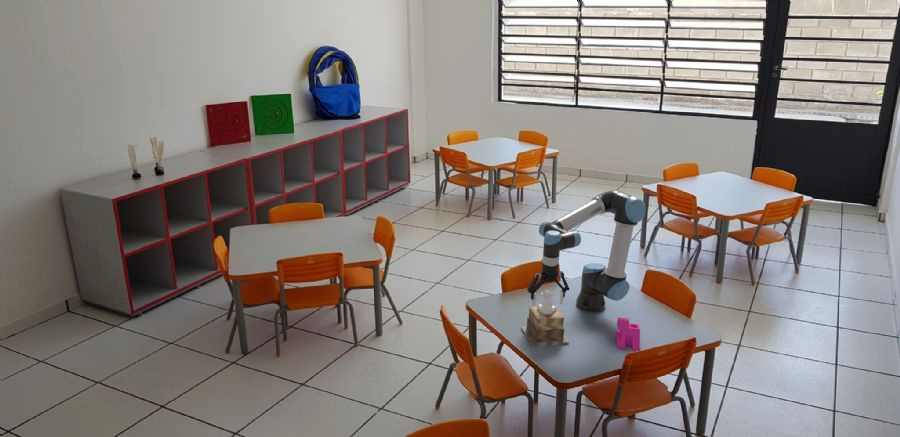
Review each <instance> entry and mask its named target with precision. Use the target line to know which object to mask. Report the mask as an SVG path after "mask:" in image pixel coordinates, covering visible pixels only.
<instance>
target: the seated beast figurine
mask: <svg viewBox="0 0 900 437" xmlns="http://www.w3.org/2000/svg"><path fill="white" fill-rule="evenodd" d="M540 296H542V298H543V299H542V302H541V303H538V304H537V305H536V306H537V307H538V309H539V311H540V312H541V313H542V314H543V315H550V314H552V313H553V312H554V311H555V310H556V309H558V306H556V305H555V306H552V305H553V301H552V296H553V293H552V292H551V291H550V290H549V289H545V290H543V291H542V292H540Z"/></svg>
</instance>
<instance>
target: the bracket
mask: <svg viewBox="0 0 900 437" xmlns="http://www.w3.org/2000/svg"><path fill="white" fill-rule="evenodd" d="M616 326H617V330H619V331H616V332H615V341H616V348H617V349H621V350H625V349H626V346H631V350H632V351H641V328H640V324H638V323H631V322H630V319H629V318H627V317H617V320H616Z"/></svg>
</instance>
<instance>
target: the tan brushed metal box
mask: <svg viewBox="0 0 900 437" xmlns="http://www.w3.org/2000/svg"><path fill="white" fill-rule="evenodd" d="M537 306H538V305H535V306H528V307H529V309H528V317H527V319H526V326H521V330H522V332H523V334H524V335H525V337H526V338H527V340H528V342H529V344H530V345H531V347H532V348H536V347H538V348H539V347H546V346H547V347H549V346H550V347H551V346H559V345H561V346H562V345H569V344H570V342H569V340H568V339H567V337H566V336H565V327H564V324H565V323H564V320H565V316H563V314H562V313H561V312H560V310H559V309H558V308H557V309H556V310H555V311H554V312H553V313H552V314H550V315H543V314H542V313H541V312H540V311H539V309H538V307H537ZM552 306H556V305H555V304H552Z"/></svg>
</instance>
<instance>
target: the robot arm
mask: <svg viewBox="0 0 900 437" xmlns="http://www.w3.org/2000/svg"><path fill="white" fill-rule="evenodd" d="M590 200H591V201H588V202H586V203H585V204H582V205H581V206H579V207H578V208H575V209H574V210H572V211H571V212H569V213H567V214H565V215H562V216H561V217H559V218H557V219H556V220H554V221H552V222H550V221H543V222H541V224H539V227H538V233H539V235H540V237H541V236H542V238H544V239H543V253H542V262H541V263H542V266H541V273H538V272H534V277H533V278H532V281H530V284H529V285H528V287H527V289H526V290H527V292H528V293H529V294H530V299H531V305H532V307H536V301H537V300H536V299H537V293H536V292H537V291H538V290H539V289H540V288H541V287H542V286H543V285H544V284H545V283H554V282H555V283H556V284H557V286H558V287H559V288H560V289H559V297H558V303H559V304H560V305H563V303H564V302H563V301H564V298H565V297H566V293H567V291H570V287H569V285H568V282H567V280H566V278H565V273H564V272H563V271H562V270H561V271H560V272H558V271H559V263H560V262H559V261H560V251H564V250H569V249H573V248H576V247H579V246H580V244H581V243H582V237H581V234H580V233H579V231H577V230H572V229H575V228H576V227H578V226H579V225H582V224H583V223H585V222H587V221H589V220H591V219H593V218H594V217H596V216H598V215H604V214H606V213H611V214H613V216H614V218H613V221H614V222H615V228H614V233H613V237H612V241H611V242H612V244H611V247H610V248H611V249H610V253H609V259H608V264H607V267H606V265H605V264H602V263H598V262H597V263H596V262H593V263H591V262H590V263H587V264H585V265H584V266H583V268H582V272H581V283H580V284H581V285H580V291H579V293H578V295H577V297H576V302H575V303H576V307H577V308H578V309H581V310H583V311H587V312H600V311H603V310H604V309H605V308H606V300H605V297H606V298H607V299H609V300H612V301H615V302H618V301H620V300H622V299H624V298H625V297H626V296H627V294H628V292H629V291H630V284H629V282H628V281H627V276H628V275H627V273H626V272H625V270H626V267H627V266H626V265H627V261H628V256H629V250H630V246H631V241H632V236H633V233H634V227H636V226H637V225H638V223H640V222H641V221H642V220H643V218H644V217H645V214H646V204H645V203H644V200H642V199H640V198H639V197H637V196H635V195H632V194H630V193H629V194H628V193H626V192H623V191H620V190H609V191H605V192H602V193H600V194H597V195H596V196H593V197H592V198H591V199H590ZM540 277H541V278H540ZM558 277H560V279H561V281H562V283H563V285H564V286H563V285H562V284H561V282H560V281H559V280H558V279H557V278H558Z"/></svg>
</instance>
